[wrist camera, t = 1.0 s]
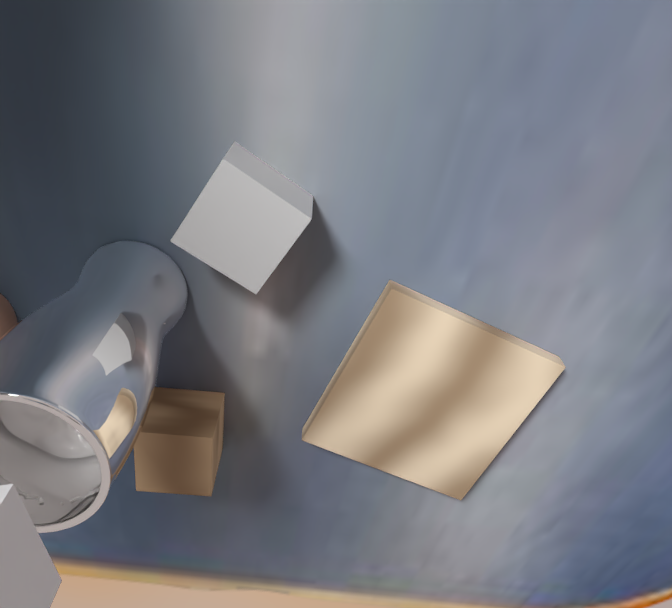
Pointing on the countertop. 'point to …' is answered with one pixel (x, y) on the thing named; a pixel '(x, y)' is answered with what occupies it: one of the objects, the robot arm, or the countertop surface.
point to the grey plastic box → (245, 219)
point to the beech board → (429, 392)
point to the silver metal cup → (85, 381)
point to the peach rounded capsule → (6, 316)
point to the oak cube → (180, 442)
